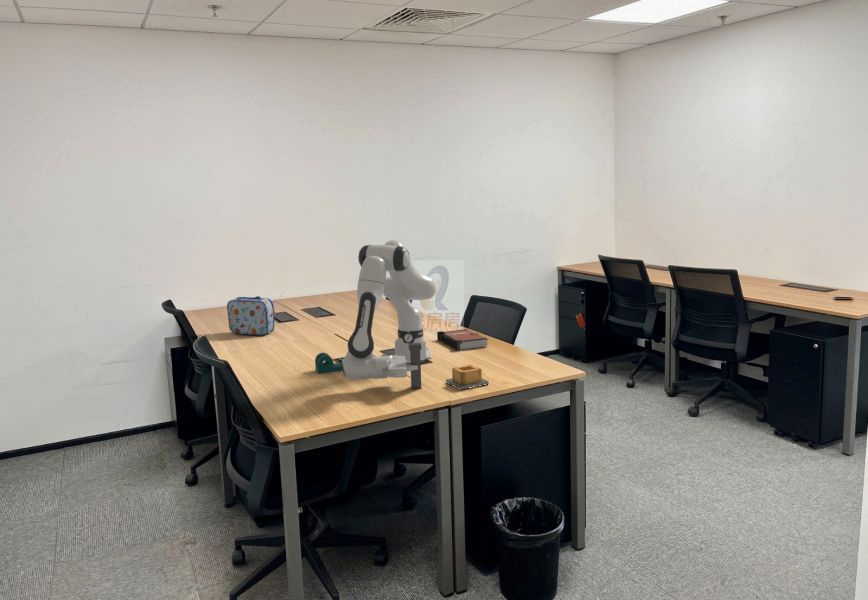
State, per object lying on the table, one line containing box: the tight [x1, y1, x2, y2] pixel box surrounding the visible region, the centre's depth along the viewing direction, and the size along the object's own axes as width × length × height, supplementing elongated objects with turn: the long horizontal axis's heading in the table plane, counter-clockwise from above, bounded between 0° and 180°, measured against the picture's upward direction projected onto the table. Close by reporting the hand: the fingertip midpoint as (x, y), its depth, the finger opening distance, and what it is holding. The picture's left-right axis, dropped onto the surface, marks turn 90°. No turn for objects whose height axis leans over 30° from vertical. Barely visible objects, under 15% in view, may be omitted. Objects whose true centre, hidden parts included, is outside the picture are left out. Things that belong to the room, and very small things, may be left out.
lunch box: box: [226, 296, 277, 336], centre depth 387 cm, size 28×10×22 cm, turn 73°
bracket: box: [314, 352, 343, 375], centre depth 309 cm, size 18×7×8 cm, turn 111°
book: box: [436, 328, 489, 352], centre depth 351 cm, size 26×18×5 cm
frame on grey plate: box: [445, 364, 489, 389], centre depth 281 cm, size 13×12×6 cm
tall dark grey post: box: [408, 343, 422, 389], centre depth 277 cm, size 5×3×18 cm, turn 94°
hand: (417, 365), depth 277 cm, fingers closed on tall dark grey post, 3 cm apart
